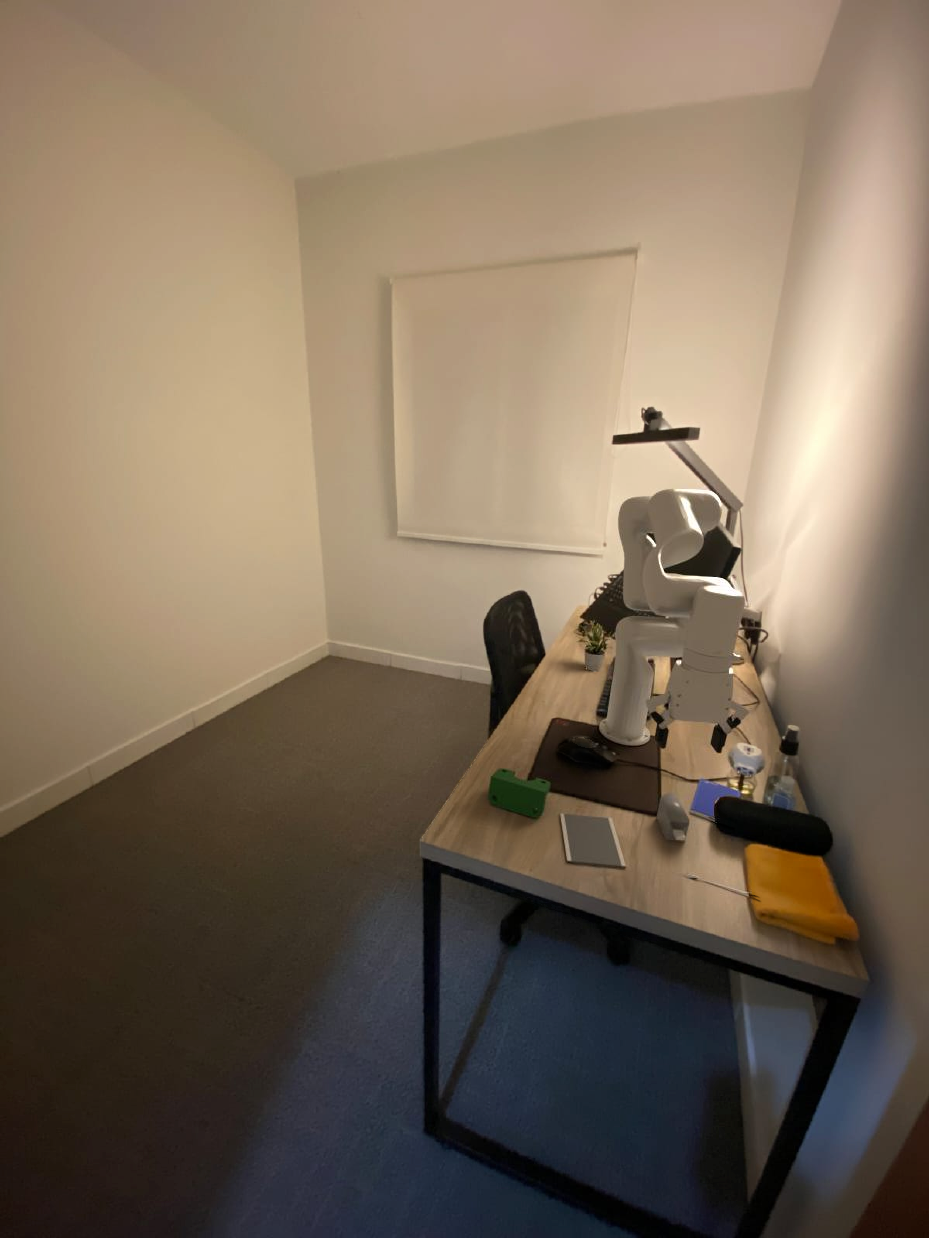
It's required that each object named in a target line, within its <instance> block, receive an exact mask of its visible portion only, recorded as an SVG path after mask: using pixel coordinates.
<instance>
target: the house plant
mask: <svg viewBox="0 0 929 1238" xmlns="http://www.w3.org/2000/svg"><path fill="white" fill-rule="evenodd" d="M590 623H591V632H592V635H590V633H588V631H587V630H586V628H585V627H584V626H582V625H580V624H579V626H580V627H582V629H583V630H584V634H585V635H586V636H587V638H588V640H584V639H583V638H582V637H580V636H575V637H577V638H579V639H580V640H579V639H578V641H577V643H581V642H583V643H584V644H585V648H584V650H583V651H584V668H585V667H586V668H587V669H588V670H587V669H586V668H585V669H586V670H587V671H589V670H591V671H590V672H594V671H596V672H600V671H601V670H600V669H602V667H603V663H604V660H605V657H606V654H607V653H606V651H605V650H606V649H613V647H611V646H609V645H608V643H606V642H607V641H610V640H611V641H612V638H611V639H610V634H611V633H612V632H613V630H612V631H610V632H609V633H608V634H607V635H606V636H605V637H604V638H603V640H601V638H602V634H603V627H602V626H603V624H602V625H600V624H599V623H597V624H596V625H595V624H594V622H593V621H592V620H590ZM575 625H577V626H578V624H575ZM613 635H614V636H615V633H614V634H612V636H613ZM608 636H609V637H608ZM607 646H609V647H607ZM599 670H600V671H599Z"/></svg>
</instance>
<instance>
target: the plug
mask: <svg viewBox="0 0 929 1238" xmlns="http://www.w3.org/2000/svg"><path fill="white" fill-rule="evenodd" d="M657 809H658V810H657V814H656V819H657V821H658V823H659V826H660V829H661V831H662V833H663V836H664V838H665V840H667V841H668V840H669V841H677V842H678V841H679V842H686V839H687V836H688V835H687V834H688V830H689V827H690V819H689V818H690V817H688V814H687V813H686V810H685V809H684V806H683V805H682V803H681V800H680V799H679V796H678V795H676V794H675V793H673V792H672V793H671V792H670V793H669V792H667V793H665V794H663V795H662V796H661V797H660V798H659V804H658V808H657Z"/></svg>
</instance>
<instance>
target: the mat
mask: <svg viewBox="0 0 929 1238" xmlns="http://www.w3.org/2000/svg"><path fill="white" fill-rule="evenodd" d="M559 818H560V825H561V831H562V837H563V845H564V851H565V856H566V858H565V859H566V862H567V863H568V864H580V865H589V866H599V867H609V868H611V867H612V868H621V869H622V868H623V869H626V867H627V864H626V861H625V858H624V855H623V852H622V848H621V846H620V842H619V838H618V834H617V832H616V828H615V824H614V820H613V818H612V817H602V816H601V817H600V816H592V815H591V816H590V815H577V814H569V813H568V814H567V813H559Z"/></svg>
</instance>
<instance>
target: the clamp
mask: <svg viewBox="0 0 929 1238" xmlns="http://www.w3.org/2000/svg"><path fill="white" fill-rule="evenodd" d="M550 789H551V782H550V781H549V780H547V779H543V778H539V777H535V779H533V780H525V779H521V778H518V777H517V776H516V771H515V770H511V769H507V768H498V769H497V770H496V771H495V772H494V773H493V774H492V775H491V776H490V780H489V788H488V794H487V800H488V802H489V803H490V804H491V805H492V806H495V807H498V808H502V809H505V810H508V811H511V812H515V813H517V814H521V815H524V816H527V817H530V818H533V819H538V818H540V817H542V815H543V813H544V812H545V807H546V803H547V796H548V794H549V792H550Z"/></svg>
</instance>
